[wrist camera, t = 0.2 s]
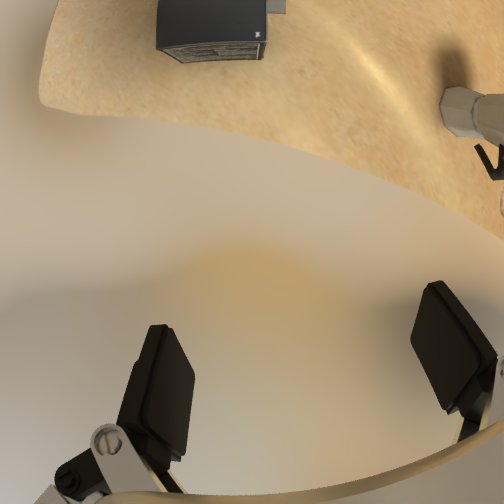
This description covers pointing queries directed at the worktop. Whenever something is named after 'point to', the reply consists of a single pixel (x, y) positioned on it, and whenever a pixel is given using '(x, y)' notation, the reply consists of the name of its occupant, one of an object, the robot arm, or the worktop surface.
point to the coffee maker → (476, 121)
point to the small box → (212, 29)
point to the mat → (276, 6)
